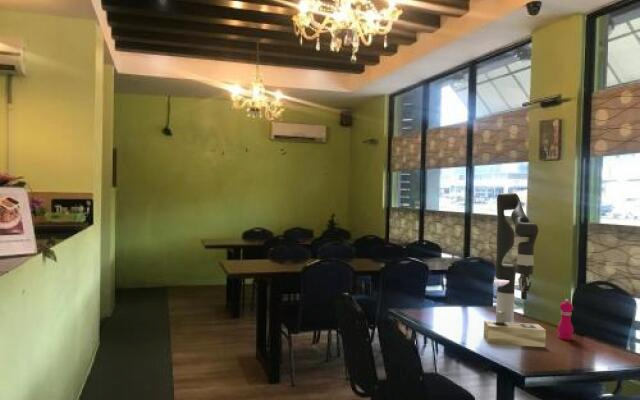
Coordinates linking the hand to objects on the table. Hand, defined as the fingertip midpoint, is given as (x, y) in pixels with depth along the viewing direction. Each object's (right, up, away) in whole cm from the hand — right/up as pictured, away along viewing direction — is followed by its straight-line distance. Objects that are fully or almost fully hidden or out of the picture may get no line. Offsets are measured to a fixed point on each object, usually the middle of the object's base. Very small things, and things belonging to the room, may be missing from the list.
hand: (523, 299), depth 247 cm
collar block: (-5, -21, +1) cm, 21 cm away
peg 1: (-11, -15, +1) cm, 18 cm away
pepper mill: (+26, -22, +12) cm, 36 cm away
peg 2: (+2, -21, 0) cm, 21 cm away
